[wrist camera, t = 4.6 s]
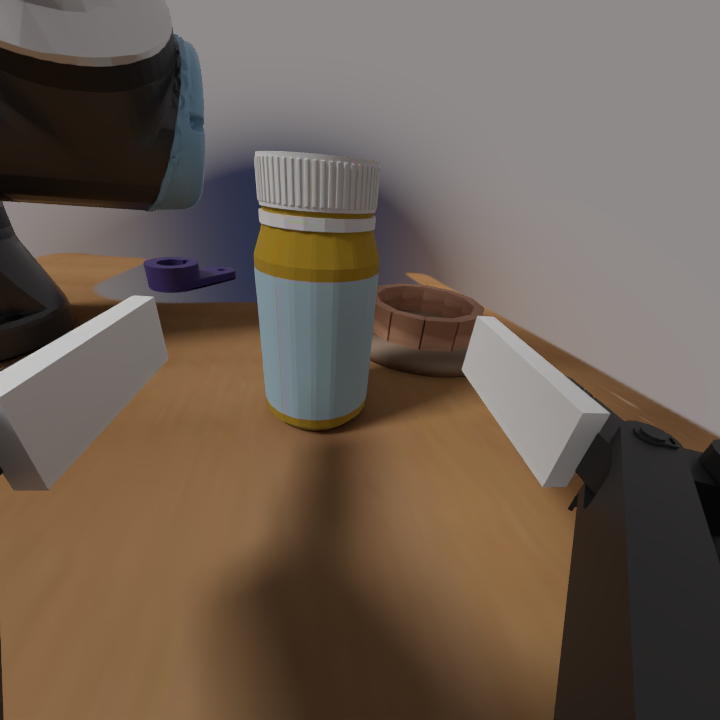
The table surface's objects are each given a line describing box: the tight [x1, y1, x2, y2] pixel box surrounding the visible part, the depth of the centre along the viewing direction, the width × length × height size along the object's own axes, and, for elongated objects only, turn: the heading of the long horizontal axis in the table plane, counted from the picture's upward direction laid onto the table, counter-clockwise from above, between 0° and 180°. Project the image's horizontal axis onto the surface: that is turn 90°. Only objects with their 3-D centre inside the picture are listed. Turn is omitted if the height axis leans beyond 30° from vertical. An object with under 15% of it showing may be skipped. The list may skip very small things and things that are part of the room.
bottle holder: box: [370, 284, 484, 377], centre depth 35 cm, size 18×18×4 cm
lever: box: [144, 257, 236, 293], centre depth 45 cm, size 12×6×3 cm, turn 142°
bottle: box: [254, 151, 380, 431], centre depth 19 cm, size 7×7×15 cm
